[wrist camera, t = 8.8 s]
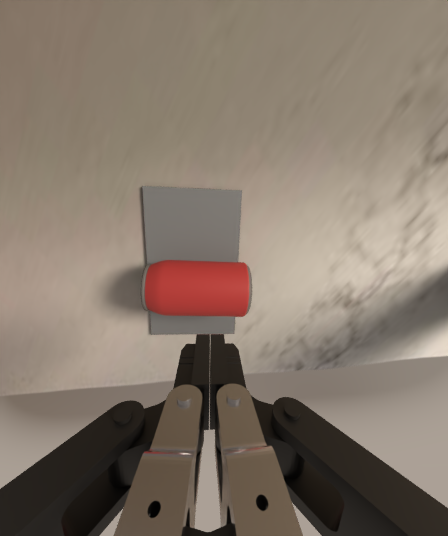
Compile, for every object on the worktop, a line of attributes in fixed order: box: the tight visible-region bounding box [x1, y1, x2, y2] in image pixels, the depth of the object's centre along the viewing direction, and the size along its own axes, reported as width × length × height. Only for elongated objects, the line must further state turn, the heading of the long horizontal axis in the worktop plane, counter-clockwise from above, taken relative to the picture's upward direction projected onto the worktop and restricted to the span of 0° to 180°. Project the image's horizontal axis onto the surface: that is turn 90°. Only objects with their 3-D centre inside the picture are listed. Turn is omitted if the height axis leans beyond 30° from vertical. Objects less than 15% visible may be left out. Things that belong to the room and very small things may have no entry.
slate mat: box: [142, 186, 242, 335], centre depth 28 cm, size 12×20×1 cm, turn 178°
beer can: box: [141, 260, 252, 317], centre depth 26 cm, size 7×7×12 cm
